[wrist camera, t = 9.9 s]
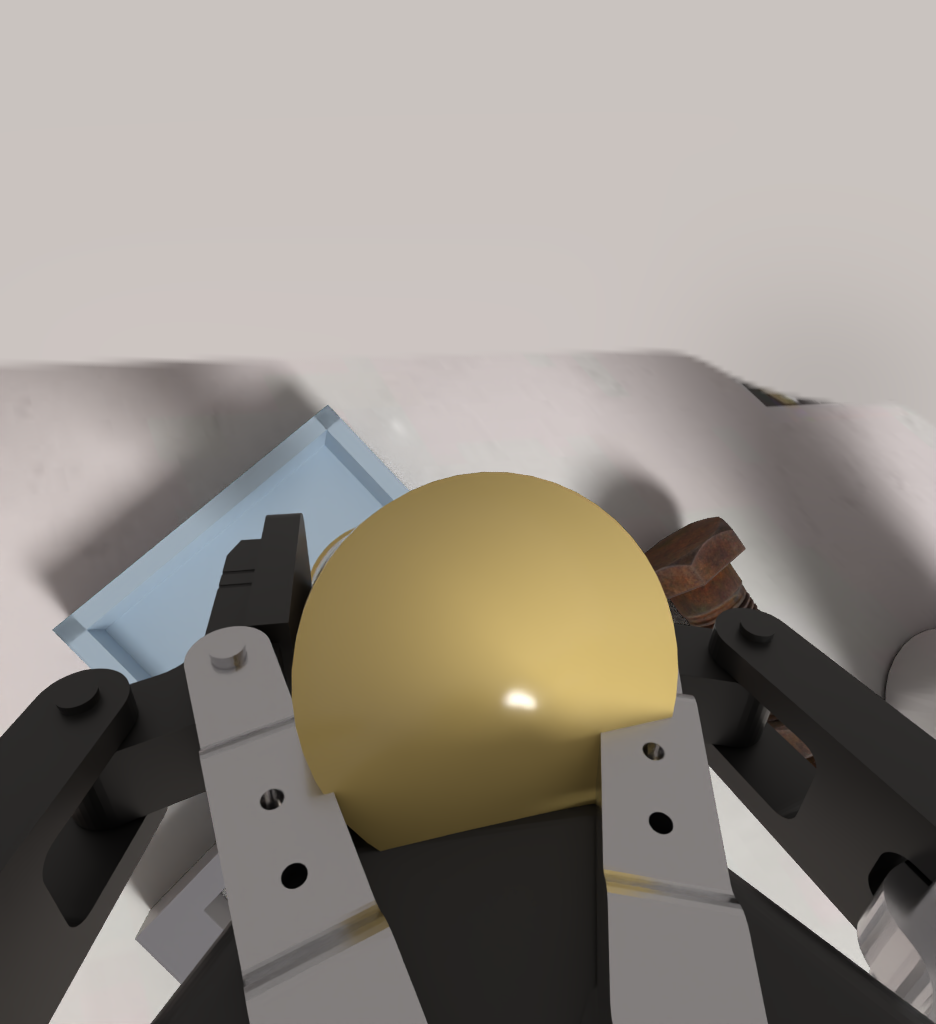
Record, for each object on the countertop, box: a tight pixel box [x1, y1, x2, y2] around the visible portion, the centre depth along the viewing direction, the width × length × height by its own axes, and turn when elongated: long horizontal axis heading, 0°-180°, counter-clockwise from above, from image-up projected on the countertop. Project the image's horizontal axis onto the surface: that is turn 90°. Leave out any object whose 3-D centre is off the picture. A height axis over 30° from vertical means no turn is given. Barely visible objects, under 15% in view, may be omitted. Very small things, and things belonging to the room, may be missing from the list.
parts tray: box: [53, 405, 409, 684], centre depth 27 cm, size 14×11×3 cm
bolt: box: [645, 517, 817, 769], centre depth 32 cm, size 6×5×15 cm
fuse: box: [292, 472, 678, 851], centre depth 14 cm, size 5×5×13 cm
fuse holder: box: [135, 843, 232, 984], centre depth 26 cm, size 10×8×2 cm
